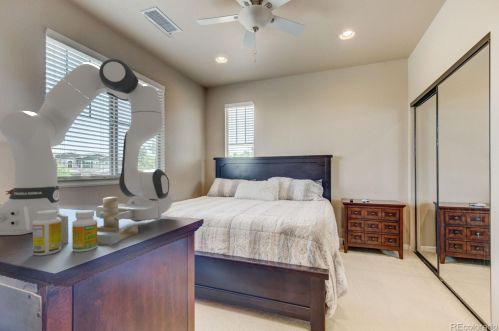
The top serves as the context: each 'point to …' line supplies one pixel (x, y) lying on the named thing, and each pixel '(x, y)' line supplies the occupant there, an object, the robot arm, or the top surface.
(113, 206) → the dowel
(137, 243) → the top surface
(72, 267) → the top surface
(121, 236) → the cradle
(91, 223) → the supplement bottle
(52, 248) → the supplement bottle
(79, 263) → the top surface
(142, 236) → the top surface
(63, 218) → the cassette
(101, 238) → the wall
